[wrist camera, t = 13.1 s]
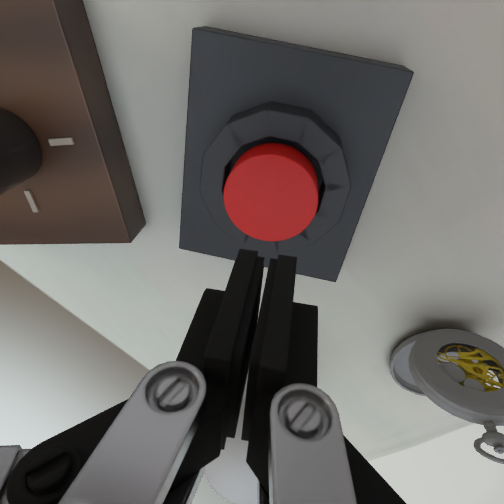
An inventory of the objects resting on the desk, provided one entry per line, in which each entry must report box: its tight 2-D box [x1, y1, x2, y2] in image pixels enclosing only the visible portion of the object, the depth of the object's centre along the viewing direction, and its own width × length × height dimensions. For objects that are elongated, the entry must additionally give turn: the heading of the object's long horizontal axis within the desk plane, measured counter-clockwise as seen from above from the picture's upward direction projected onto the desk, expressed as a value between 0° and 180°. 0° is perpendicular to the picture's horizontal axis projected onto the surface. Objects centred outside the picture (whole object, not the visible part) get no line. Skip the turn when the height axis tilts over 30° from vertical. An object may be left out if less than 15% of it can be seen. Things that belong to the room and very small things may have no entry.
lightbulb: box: [204, 369, 258, 504], centre depth 26 cm, size 6×6×11 cm
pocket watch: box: [390, 329, 504, 464], centre depth 23 cm, size 8×8×10 cm
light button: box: [223, 143, 318, 241], centre depth 18 cm, size 4×4×2 cm
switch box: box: [179, 26, 414, 282], centre depth 20 cm, size 12×10×4 cm
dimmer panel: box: [0, 0, 145, 244], centre depth 21 cm, size 13×11×3 cm
